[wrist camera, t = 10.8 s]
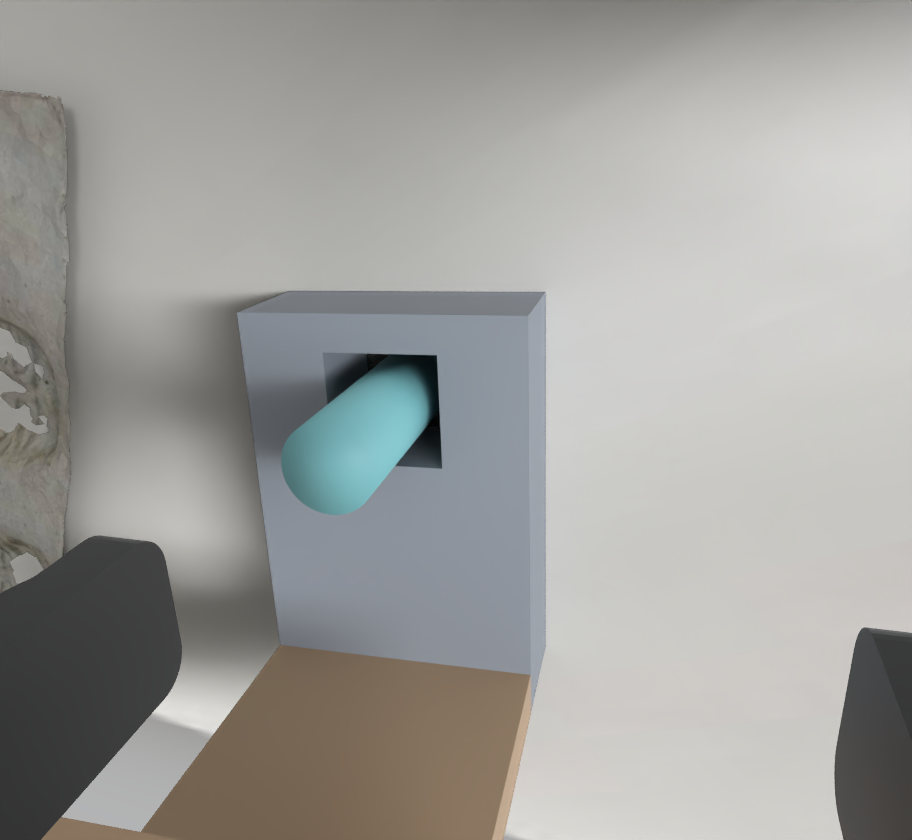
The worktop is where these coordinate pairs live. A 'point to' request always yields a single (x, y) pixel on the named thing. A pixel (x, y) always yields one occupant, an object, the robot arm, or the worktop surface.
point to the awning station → (386, 588)
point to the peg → (361, 434)
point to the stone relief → (33, 326)
